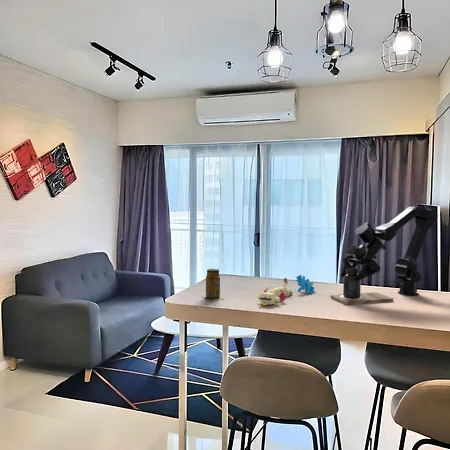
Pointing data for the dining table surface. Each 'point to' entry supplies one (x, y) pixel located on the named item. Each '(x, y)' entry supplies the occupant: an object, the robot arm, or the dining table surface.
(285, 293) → the cat figure
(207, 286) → the condiment
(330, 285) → the dining table surface
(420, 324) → the dining table surface
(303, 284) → the blue lumpy piece
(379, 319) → the dining table surface
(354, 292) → the supplement bottle
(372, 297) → the walnut board
